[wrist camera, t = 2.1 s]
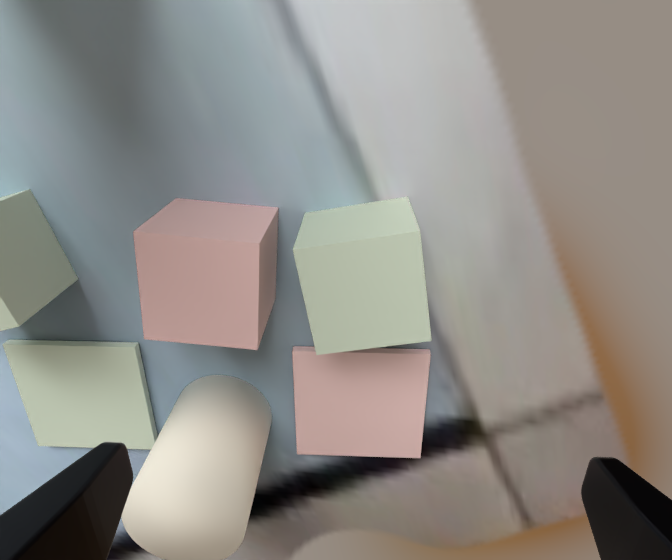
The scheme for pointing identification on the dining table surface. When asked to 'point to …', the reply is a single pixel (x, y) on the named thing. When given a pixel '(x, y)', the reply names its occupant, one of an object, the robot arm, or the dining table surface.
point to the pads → (309, 393)
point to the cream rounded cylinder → (201, 472)
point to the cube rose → (207, 272)
